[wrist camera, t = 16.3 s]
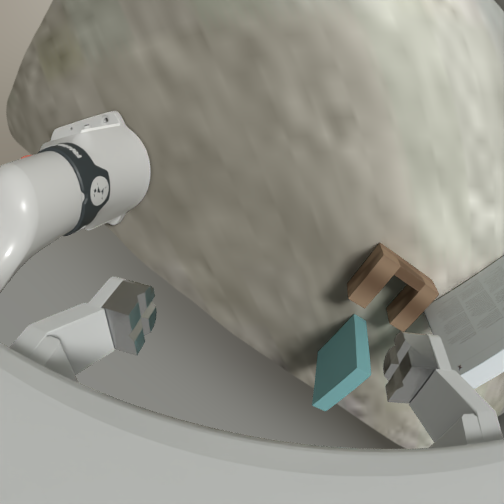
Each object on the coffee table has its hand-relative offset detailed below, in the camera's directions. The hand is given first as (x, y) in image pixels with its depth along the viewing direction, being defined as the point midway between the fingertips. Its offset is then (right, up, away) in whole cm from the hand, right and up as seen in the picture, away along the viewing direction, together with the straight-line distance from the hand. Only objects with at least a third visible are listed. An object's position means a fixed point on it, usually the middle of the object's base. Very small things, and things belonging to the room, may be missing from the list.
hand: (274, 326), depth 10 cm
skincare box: (+36, -3, +31) cm, 47 cm away
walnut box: (+20, -2, +34) cm, 39 cm away
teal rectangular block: (+14, -12, +40) cm, 44 cm away
